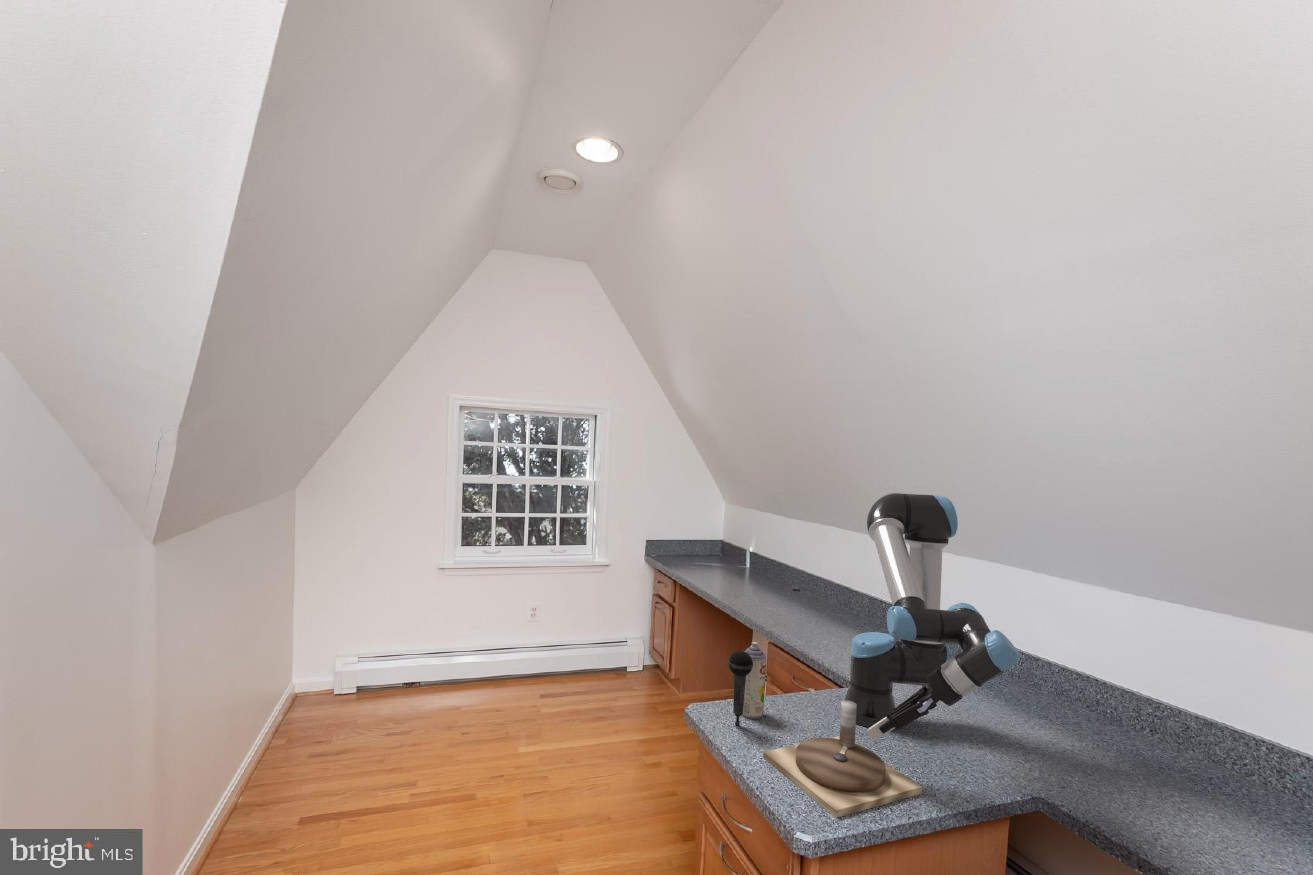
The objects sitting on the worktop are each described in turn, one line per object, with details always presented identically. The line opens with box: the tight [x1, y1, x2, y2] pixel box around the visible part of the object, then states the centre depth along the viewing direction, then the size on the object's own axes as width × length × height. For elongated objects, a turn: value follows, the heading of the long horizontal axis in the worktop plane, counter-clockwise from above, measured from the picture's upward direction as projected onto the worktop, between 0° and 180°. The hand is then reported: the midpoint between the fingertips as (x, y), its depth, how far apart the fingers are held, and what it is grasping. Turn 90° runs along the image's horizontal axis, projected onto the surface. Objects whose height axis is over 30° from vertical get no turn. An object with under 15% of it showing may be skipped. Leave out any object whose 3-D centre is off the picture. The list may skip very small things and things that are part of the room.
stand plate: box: [762, 735, 923, 819], centre depth 138 cm, size 25×25×2 cm
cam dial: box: [796, 699, 886, 792], centre depth 138 cm, size 20×20×12 cm
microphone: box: [727, 650, 753, 727], centre depth 161 cm, size 7×7×20 cm
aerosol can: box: [740, 641, 767, 720], centre depth 169 cm, size 7×7×20 cm
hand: (870, 735), depth 142 cm, fingers closed
